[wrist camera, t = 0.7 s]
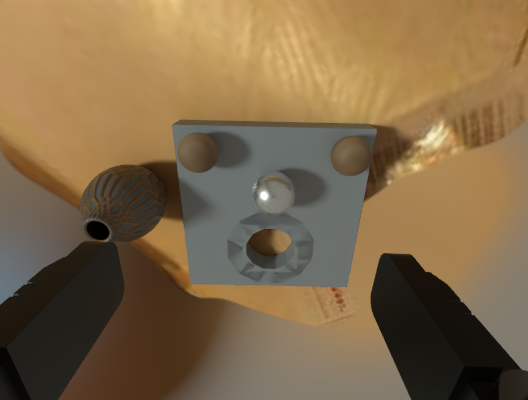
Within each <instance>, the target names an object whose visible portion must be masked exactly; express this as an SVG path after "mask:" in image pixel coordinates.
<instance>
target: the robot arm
mask: <svg viewBox="0 0 528 400" xmlns="http://www.w3.org/2000/svg"><path fill="white" fill-rule="evenodd" d="M123 294H124V280H123V275H122V270H121V265H120V260H119V255H118V251H117V247H116V245H115V244H114V243H113V242H100V241H85V242H82V243H81V244H80V245H79V246H78V247H77V248H75V249H74V250H73V251H72V252H71V253H70V254H69V255H68V256H66V257H63V258H61V259H60V260H58V261H56V262H54V263H52V264H50V265H48V266H47V267H45V268H43V269H42V270H41V271H39V272H38V273H37V274H36V275H35V276H34V277H32V278H31V279H30V280H29V281H28V283H27V285H23V286H22V287H21V288H20V289H19V290H17V291H16V292H15V293H14V295H13V297H9V298H8V299H7V300H6V301H4V302H3V303H2V304H1V305H0V400H58V399H59V397H60V396H61V394H62V393H63V391H64V389H65V388H66V387H67V385H68V383H69V382H70V380H71V379H72V377H73V376H74V374H75V373H76V371H77V369H78V368H79V366H80V365H81V363H82V362H83V360H84V359H85V357H86V356H87V354H88V353H89V351H90V350H91V348H92V346H93V345H94V343H95V342H96V340H97V339H98V337H99V336H100V334H101V333H102V331H103V329H104V328H105V326H106V325H107V323H108V322H109V320H110V319H111V317H112V316H113V314H114V312H115V311H116V309H117V308H118V306H119V305H120V303H121V300H122V297H123ZM371 308H372V312H373V315H374V317H375V320H376V322H377V324H378V326H379V329H380V331H381V333H382V335H383V337H384V340H385V342H386V344H387V346H388V349H389V351H390V353H391V356H392V358H393V360H394V362H395V364H396V367H397V369H398V371H399V373H400V375H401V378H402V380H403V382H404V384H405V387H406V389H407V391H408V393H409V396H410V398H411V400H528V371H525V370H522V369H521V368H520V367H519V366H518V365H517V364H516V363H515V361H514V360H513V359H512V358H511V357H510V356H509V354H508V353H507V352H506V351H505V350H504V349H503V348H502V346H501V345H500V344H499V343H498V342H497V341H496V340H495V338H494V337H493V336H492V335H491V334H490V333H489V332H488V330H487V329H486V328H485V327H484V326H483V325H482V324H481V322H480V321H479V320H478V319H477V318H476V317H475V316H474V315H472V314H471V311H470V310H469V309H468V307H467V306H466V305H465V304H464V303H463V302H461V301H460V299H459V297H458V296H457V295H456V294H455V293H454V291H453V290H452V289H451V288H450V287H449V286H448V285H447V284H446V283H445V282H443V281H442V280H440V279H439V278H437V277H436V276H435V275H433V274H432V273H430V272H425V271H424V269H423V268H422V267H421V266H420V264H419V263H418V262H417V261H416V259H415V258H414V257H413V256H412V255H410V254H389V253H384V254H382V255H381V257H380V260H379V263H378V267H377V271H376V275H375V279H374V283H373V287H372V291H371Z"/></svg>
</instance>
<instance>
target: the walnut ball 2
mask: <svg viewBox="0 0 528 400" xmlns="http://www.w3.org/2000/svg"><path fill="white" fill-rule="evenodd" d="M330 160H331V164H332V166H333V168H334V169H335V170H336V171H337V172H338V173H340V174H342V175H344V176H356V175H359V174H361V173H362V172H364V171H365V170H366V169H367V168H368V166H369V165H370V163H371V160H372V151H371V148H370V146H369V144H368V143H367V142H366V141H365V140H364V139H362V138H360V137H357V136H347V137H344V138H342V139H340V140H339V141H337V142H336V143H335V145H334V146H333V148H332V150H331V154H330Z"/></svg>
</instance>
